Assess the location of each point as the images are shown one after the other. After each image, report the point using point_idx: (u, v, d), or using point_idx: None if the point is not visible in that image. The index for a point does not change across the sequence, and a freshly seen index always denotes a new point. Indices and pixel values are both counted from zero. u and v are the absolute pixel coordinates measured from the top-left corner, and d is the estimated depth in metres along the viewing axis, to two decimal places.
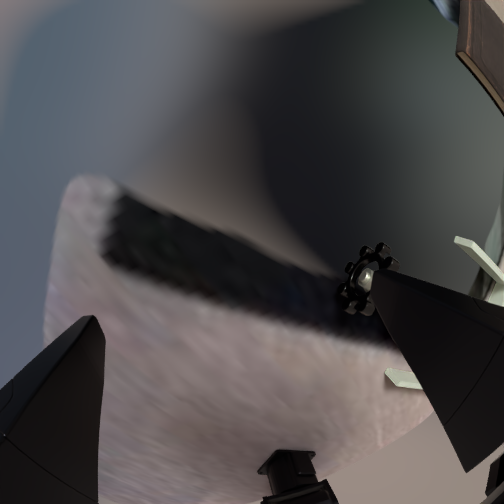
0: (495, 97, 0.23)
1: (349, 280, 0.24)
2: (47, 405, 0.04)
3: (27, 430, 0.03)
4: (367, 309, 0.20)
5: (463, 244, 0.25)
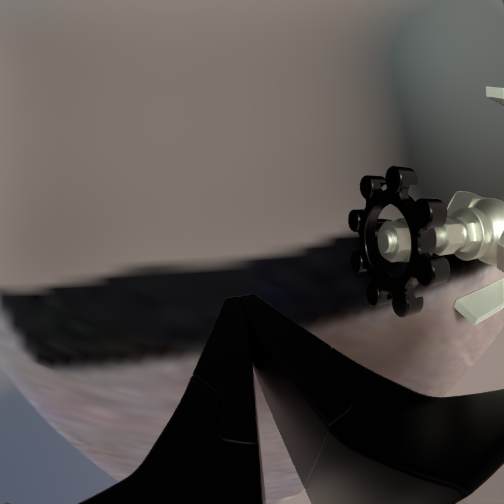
0: None
1: (363, 247, 0.13)
2: None
3: (257, 429, 0.04)
4: (410, 311, 0.10)
5: (503, 97, 0.11)
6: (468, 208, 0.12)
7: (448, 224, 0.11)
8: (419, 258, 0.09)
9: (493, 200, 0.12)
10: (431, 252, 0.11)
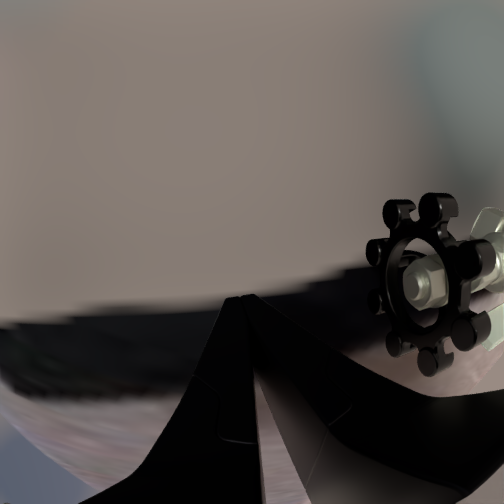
0: None
1: (384, 286, 0.10)
2: None
3: (257, 429, 0.04)
4: (439, 371, 0.07)
5: None
6: (501, 233, 0.09)
7: None
8: (458, 316, 0.06)
9: None
10: None
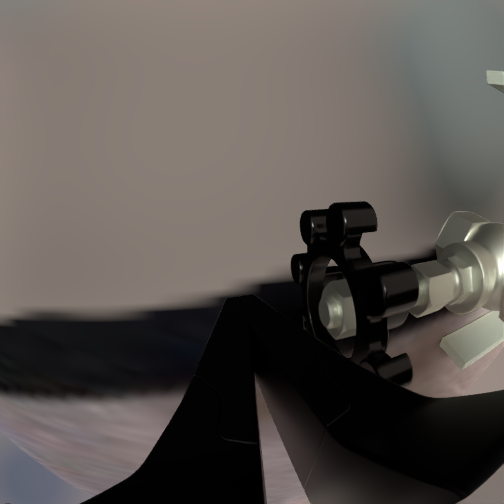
0: None
1: (306, 307, 0.10)
2: None
3: (258, 429, 0.04)
4: None
5: None
6: (465, 244, 0.09)
7: (432, 276, 0.08)
8: (364, 358, 0.06)
9: (500, 227, 0.09)
10: (400, 322, 0.08)
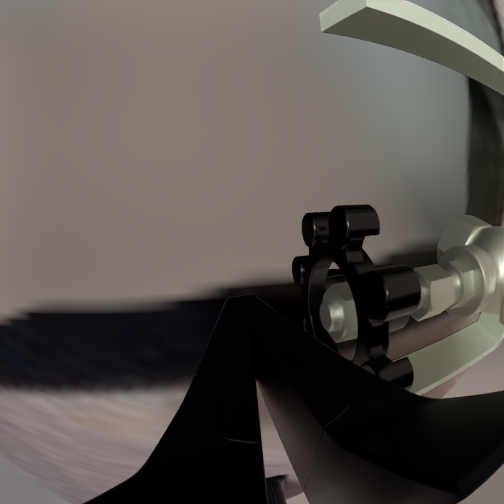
0: None
1: (306, 309, 0.10)
2: None
3: None
4: None
5: (343, 17, 0.06)
6: (466, 248, 0.09)
7: (433, 280, 0.08)
8: (366, 362, 0.06)
9: (501, 231, 0.09)
10: (401, 326, 0.08)
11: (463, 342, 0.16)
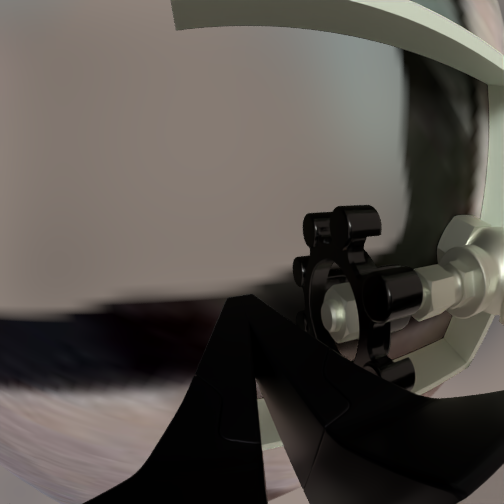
0: None
1: (307, 310, 0.10)
2: None
3: None
4: None
5: (173, 9, 0.05)
6: (467, 249, 0.09)
7: (434, 280, 0.08)
8: (367, 362, 0.06)
9: (502, 231, 0.09)
10: (402, 326, 0.08)
11: (420, 364, 0.15)
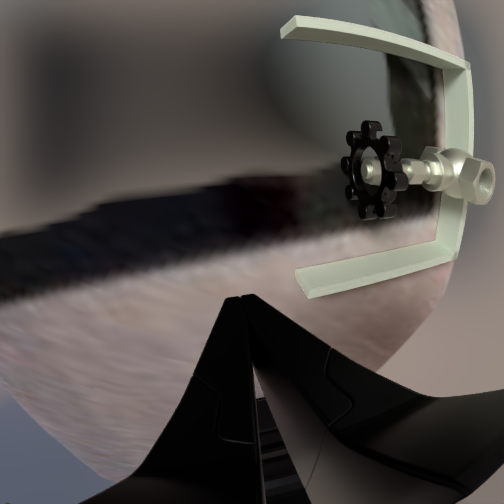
0: None
1: (352, 180, 0.18)
2: None
3: (257, 429, 0.04)
4: (388, 212, 0.15)
5: (289, 31, 0.13)
6: (430, 152, 0.17)
7: (412, 161, 0.16)
8: (386, 173, 0.14)
9: (453, 148, 0.17)
10: None
11: (420, 250, 0.23)
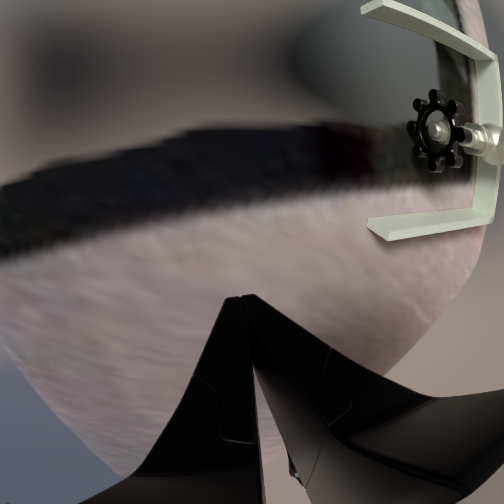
0: None
1: (420, 139, 0.18)
2: None
3: (257, 429, 0.04)
4: (457, 161, 0.15)
5: (373, 8, 0.13)
6: (474, 123, 0.17)
7: (465, 127, 0.16)
8: (456, 129, 0.14)
9: (489, 123, 0.17)
10: None
11: (463, 212, 0.23)
